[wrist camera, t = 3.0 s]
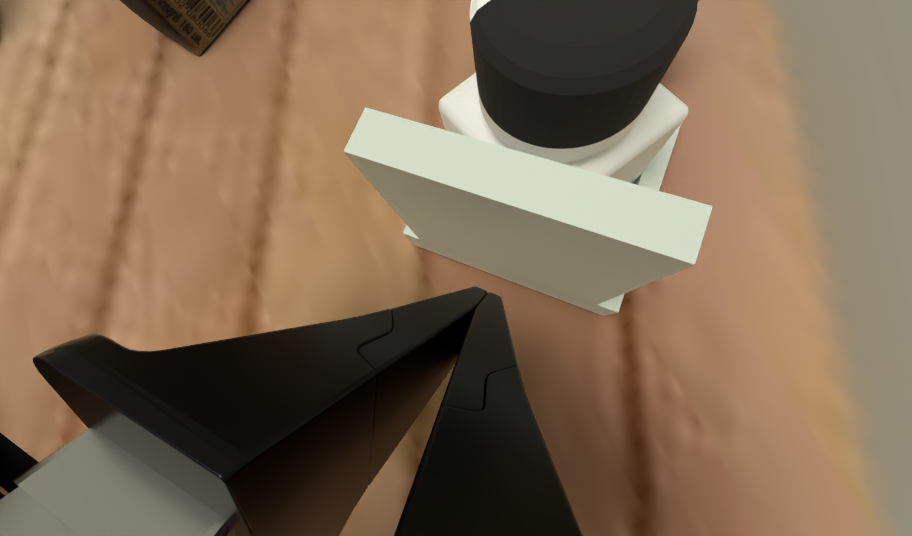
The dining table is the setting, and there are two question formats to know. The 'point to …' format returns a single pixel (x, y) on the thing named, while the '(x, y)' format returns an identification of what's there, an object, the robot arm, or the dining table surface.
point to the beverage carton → (187, 19)
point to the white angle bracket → (529, 212)
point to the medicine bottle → (573, 80)
